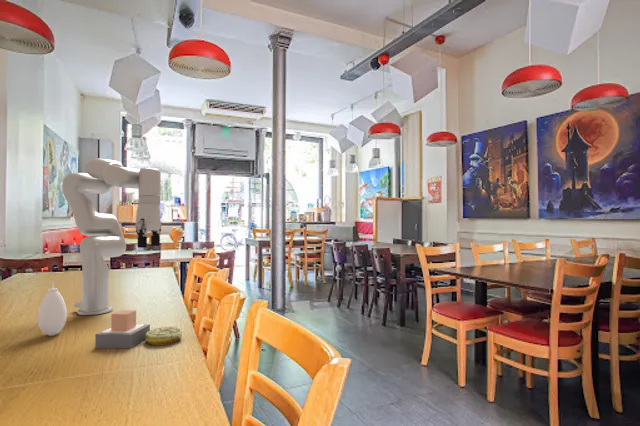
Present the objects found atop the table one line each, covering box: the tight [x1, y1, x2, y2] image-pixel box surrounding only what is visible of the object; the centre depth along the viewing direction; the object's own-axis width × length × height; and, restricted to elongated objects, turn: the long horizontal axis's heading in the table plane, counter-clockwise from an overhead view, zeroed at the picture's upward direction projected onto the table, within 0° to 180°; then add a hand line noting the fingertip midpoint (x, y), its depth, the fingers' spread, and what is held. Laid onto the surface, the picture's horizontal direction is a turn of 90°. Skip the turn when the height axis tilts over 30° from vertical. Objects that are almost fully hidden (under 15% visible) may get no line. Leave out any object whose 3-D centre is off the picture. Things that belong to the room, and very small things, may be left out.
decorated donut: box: [145, 326, 183, 346], centre depth 118 cm, size 10×11×4 cm
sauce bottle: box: [37, 280, 68, 337], centre depth 124 cm, size 8×8×18 cm
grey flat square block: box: [94, 323, 151, 349], centre depth 117 cm, size 11×11×4 cm
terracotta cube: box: [110, 309, 137, 331], centre depth 117 cm, size 5×5×5 cm
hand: (149, 246), depth 140 cm, fingers open, 9 cm apart
